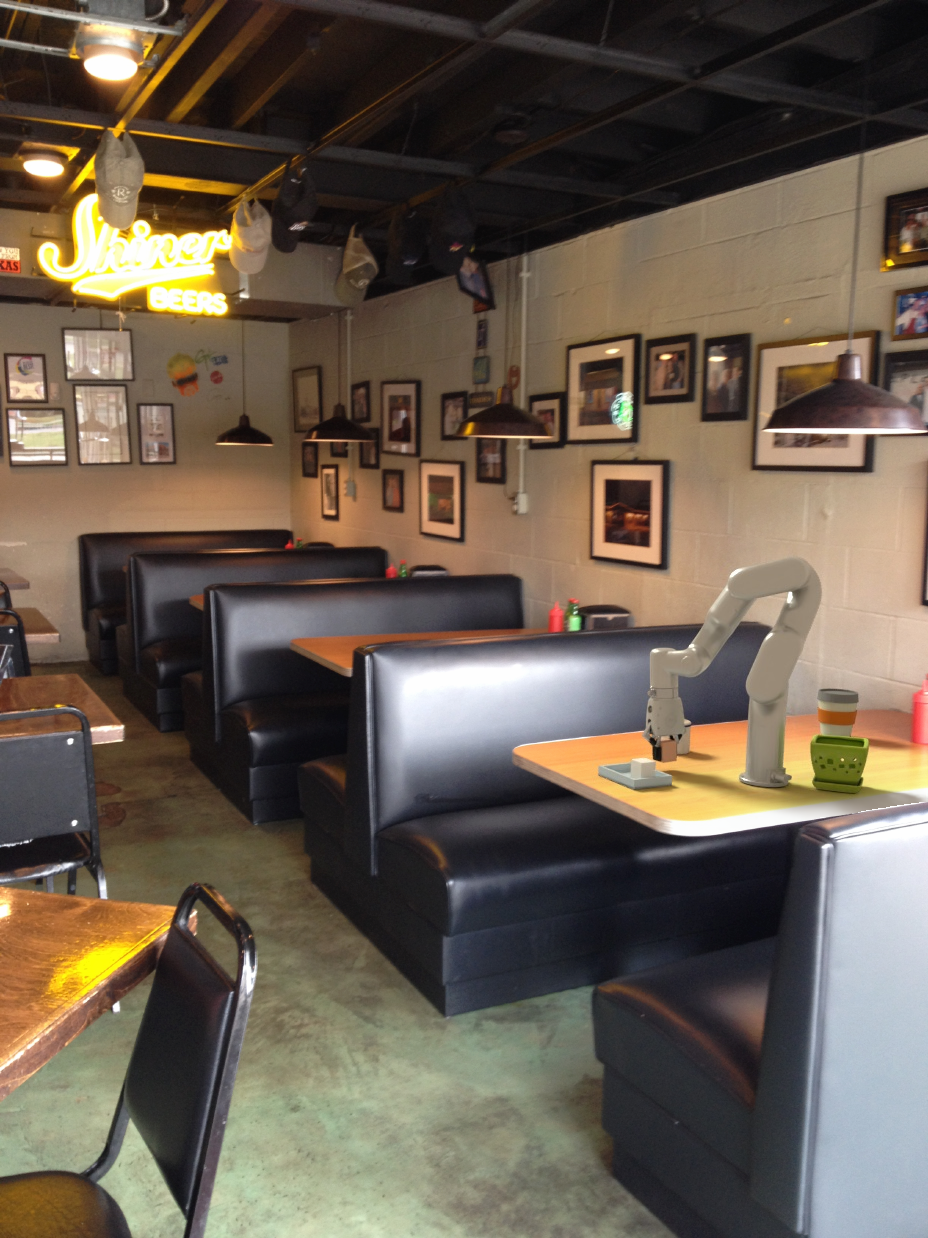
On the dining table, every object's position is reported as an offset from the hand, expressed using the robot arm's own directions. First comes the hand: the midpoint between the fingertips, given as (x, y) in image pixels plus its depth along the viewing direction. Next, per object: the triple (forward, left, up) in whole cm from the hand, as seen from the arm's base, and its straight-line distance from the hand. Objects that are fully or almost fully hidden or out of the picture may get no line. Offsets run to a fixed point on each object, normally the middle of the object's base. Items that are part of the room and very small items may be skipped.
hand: (664, 758), depth 279 cm
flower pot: (-32, -31, -4) cm, 45 cm away
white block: (-9, +14, -3) cm, 17 cm away
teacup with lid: (+19, -17, -3) cm, 26 cm away
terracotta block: (0, 0, 0) cm, 0 cm away
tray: (-6, +14, -3) cm, 16 cm away
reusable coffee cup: (+15, -80, -3) cm, 82 cm away
